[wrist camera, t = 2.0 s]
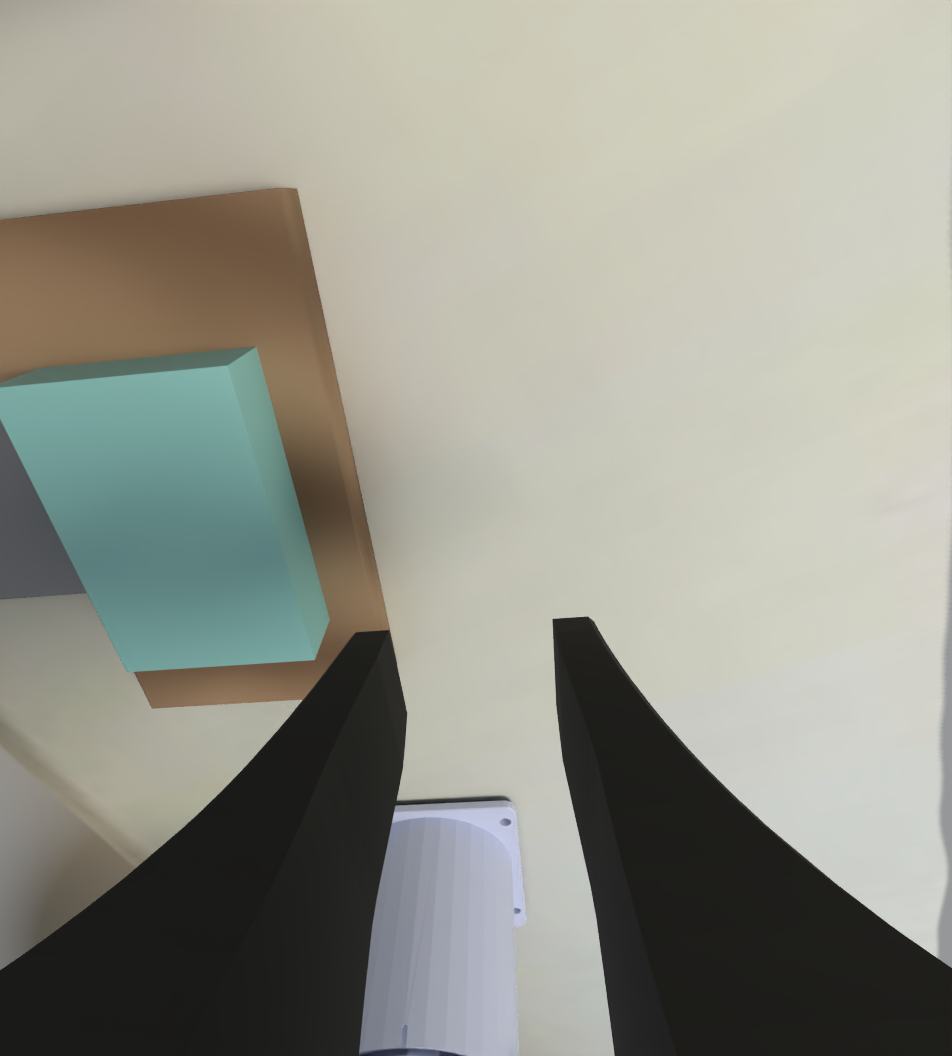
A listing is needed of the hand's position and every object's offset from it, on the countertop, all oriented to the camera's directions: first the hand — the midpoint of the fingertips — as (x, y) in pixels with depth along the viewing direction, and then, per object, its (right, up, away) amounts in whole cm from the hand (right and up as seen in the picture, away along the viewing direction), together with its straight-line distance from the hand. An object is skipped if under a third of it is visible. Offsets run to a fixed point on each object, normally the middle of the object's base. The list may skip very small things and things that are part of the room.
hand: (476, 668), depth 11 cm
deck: (-8, +4, +9) cm, 13 cm away
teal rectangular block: (-8, +3, +7) cm, 12 cm away
